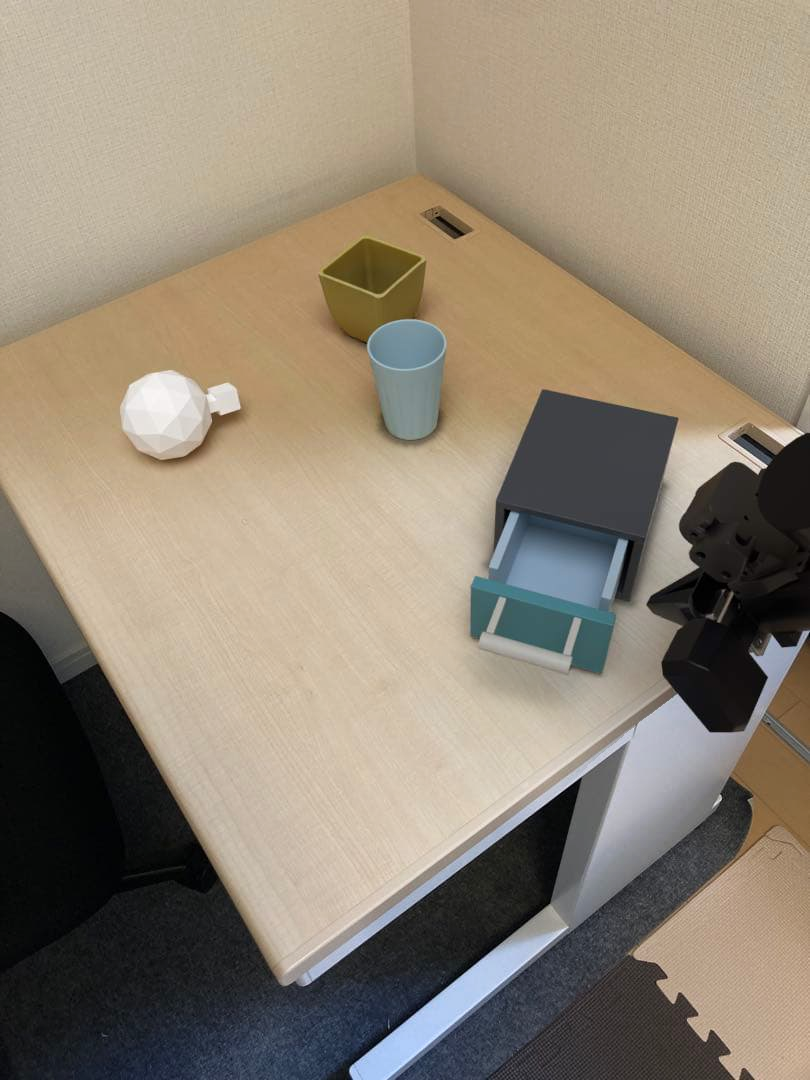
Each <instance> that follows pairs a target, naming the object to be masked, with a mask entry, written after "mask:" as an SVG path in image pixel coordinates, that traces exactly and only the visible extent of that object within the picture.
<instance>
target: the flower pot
mask: <svg viewBox="0 0 810 1080" xmlns="http://www.w3.org/2000/svg"><path fill="white" fill-rule="evenodd" d="M426 267H427V257H426V255H423V254H421V253H418V252H414V251H412V250H409V249H406V248H403V247H400V246H398V245H395V244H392V243H389V242H388V241H384V240H381V239H379V238H376V237H373V236H370V235H366V234H364V235H362V236H361V237H359V238H358V239H356V240H355V241H353V242H352V243H351V244H349V246H347V247H346V248H345V249H343V250H342V251H341V252H340V253H338V255H337V256H335V257H333V258H332V259H331V260H330V261H329V262H327V263H326V264H325V265H323V266H322V268H321V269H320V270H319V271H318V272H317V276H318V279H319V282H320V286H321V289H322V292H323V296H324V299H325V303H326V305H327V308H328V311H329V313H330V315H331V316H332V318H333V320H334V321H335V322H336V323H337V325H338V326H339V328H341V329H342V330H343V331H344V332H345V333H346V334H347V335H348V336H350V337H352V338H355V339H357V340H359V341H362V342H364V343H366V344H367V343H368V340H369V338H370V336H371V335H372V333H373V332H374V331H375V330H377V329H378V328H379V327H381V326H383V325H385V324H387V323H390V322H393V321H397V320H404V319H414V317H415V315H416V313H417V312H418V310H419V307H420V304H421V301H422V297H423V293H424V284H425V276H426Z"/></svg>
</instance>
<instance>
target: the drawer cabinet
mask: <svg viewBox="0 0 810 1080" xmlns="http://www.w3.org/2000/svg"><path fill="white" fill-rule="evenodd" d="M536 400H537V401H536V403H535V406H534V407H533V410H532V412H531V415H530V417H529V419H528V422H527V425H526V427H525V430H524V431H523V434H522V436H521V439H520V442H519V443H518V446H517V448H516V450H515V453H514V456H513V457H512V461H511V463H510V465H509V468H508V470H507V473H506V475H505V477H504V480H503V482H502V484H501V487H500V490H499V492H498V494H497V496H496V499H495V508H494V509H495V510H494V532H493V534H494V535H493V537H494V538H493V553H494V552H495V549H496V547H497V544H498V542H499V539H500V537H501V534H502V532H503V529H504V527H505V524H506V522H507V519H508V517H509V514H510V512H511V510H512V511H516V512H520V513H524V514H528V515H532V516H536V517H540V518H544V519H548V520H552V521H556V522H560V523H564V524H568V525H572V526H576V527H580V528H584V529H588V530H592V531H596V532H600V533H604V534H608V535H612V536H616V537H620V538H624V539H628V540H631V541H630V546H629V550H628V553H627V557H626V560H625V564H624V567H623V571H622V574H621V578H620V581H619V584H618V588H617V591H616V595H615V598H614V599H619V600H623V601H627V602H631V600H632V595H633V591H634V588H635V585H636V581H637V577H638V573H639V570H640V567H641V563H642V559H643V555H644V552H645V548H646V545H647V541H648V537H649V534H650V530H651V526H652V522H653V518H654V515H655V511H656V507H657V504H658V501H659V500H658V499H659V497H660V493H661V489H662V487H663V483H664V477H665V473H666V470H667V466H668V463H669V459H670V454H671V450H672V446H673V442H674V438H675V435H676V430H677V427H678V423H679V417H678V416H672V415H668V414H664V413H658V412H653V411H648V410H644V409H639V408H635V407H630V406H626V405H625V406H624V405H619V404H616V403H611V402H606V401H601V400H597V399H592V398H587V397H583V396H577V395H572V394H568V393H563V392H559V391H553V390H549V389H544V388H542V389H541V391H540V393H539V396H538V398H537V399H536Z"/></svg>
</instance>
